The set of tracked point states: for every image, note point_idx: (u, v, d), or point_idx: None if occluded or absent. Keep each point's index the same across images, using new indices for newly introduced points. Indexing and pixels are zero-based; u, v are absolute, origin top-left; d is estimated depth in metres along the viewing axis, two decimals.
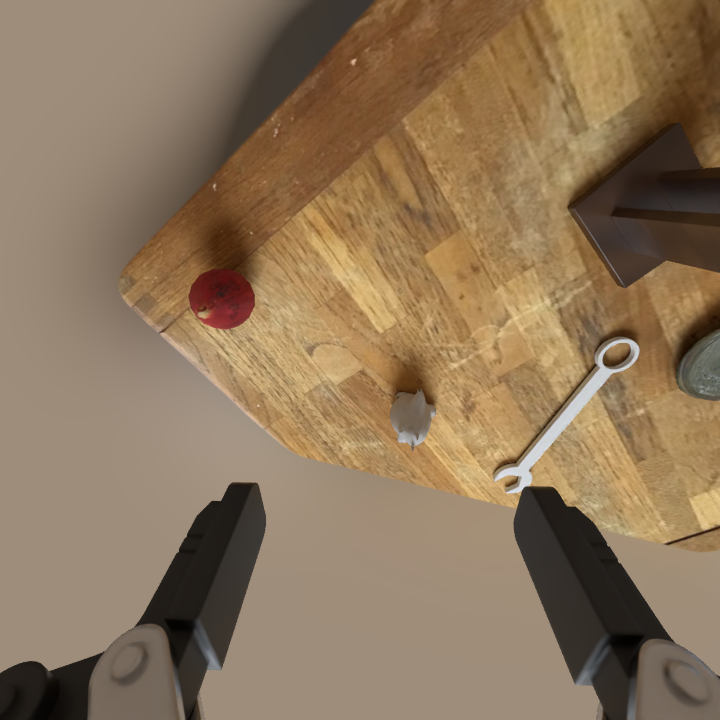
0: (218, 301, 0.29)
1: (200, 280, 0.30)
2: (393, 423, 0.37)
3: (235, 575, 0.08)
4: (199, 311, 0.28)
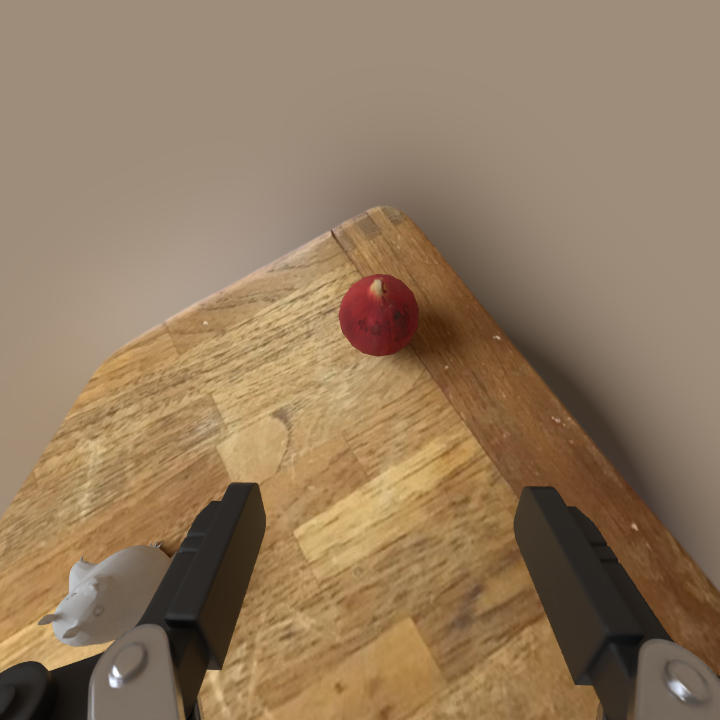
0: (388, 311, 0.21)
1: (412, 295, 0.23)
2: (120, 560, 0.20)
3: (235, 575, 0.08)
4: (382, 282, 0.20)
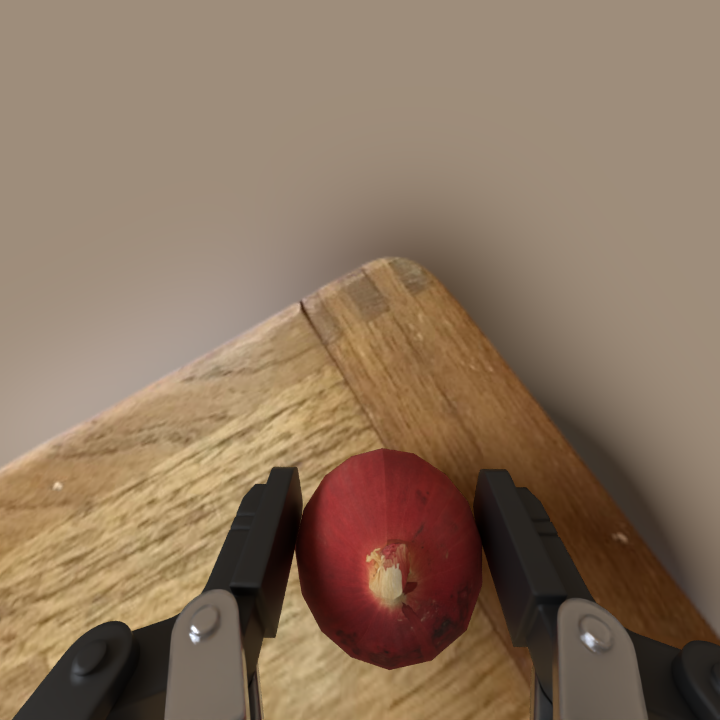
0: (419, 630, 0.07)
1: (472, 528, 0.09)
2: None
3: (283, 551, 0.09)
4: (404, 571, 0.07)
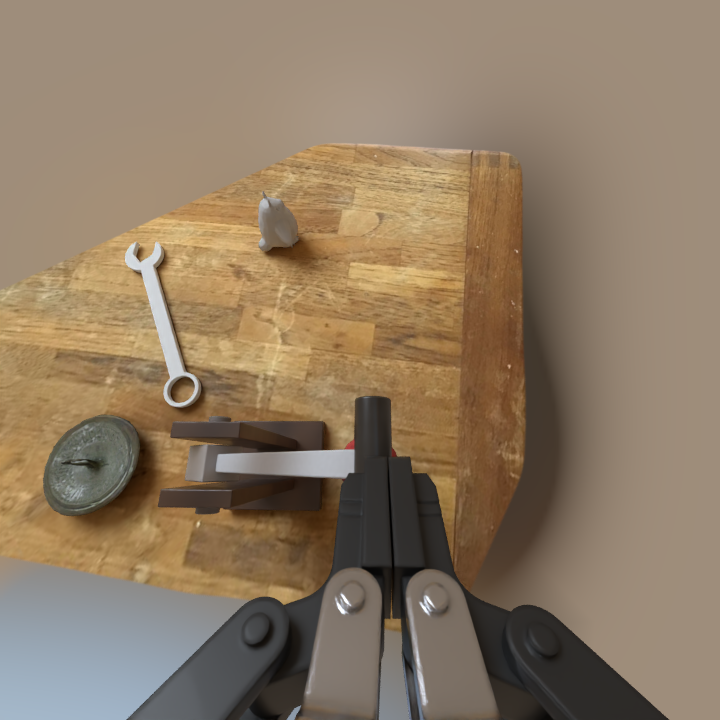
0: None
1: None
2: (287, 208, 0.41)
3: None
4: None
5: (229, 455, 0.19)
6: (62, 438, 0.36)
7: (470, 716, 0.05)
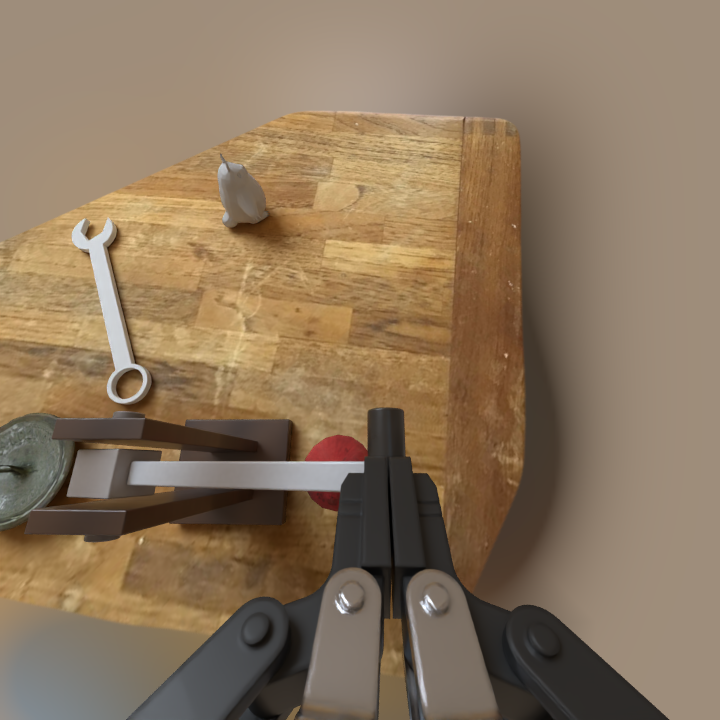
0: None
1: None
2: None
3: None
4: None
5: (156, 463, 0.15)
6: None
7: (471, 716, 0.05)
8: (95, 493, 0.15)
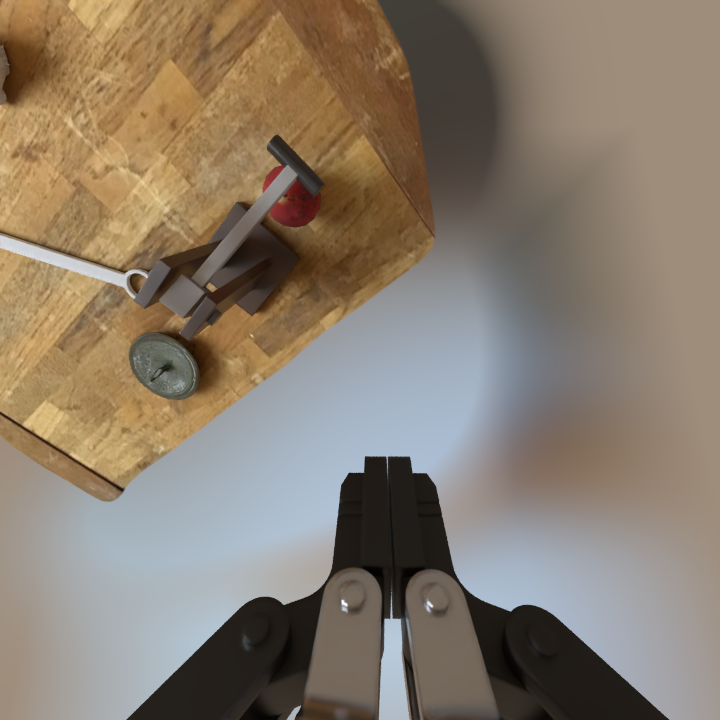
0: (298, 201, 0.31)
1: None
2: None
3: None
4: None
5: (204, 263, 0.27)
6: (135, 374, 0.47)
7: (470, 716, 0.05)
8: (196, 298, 0.26)
